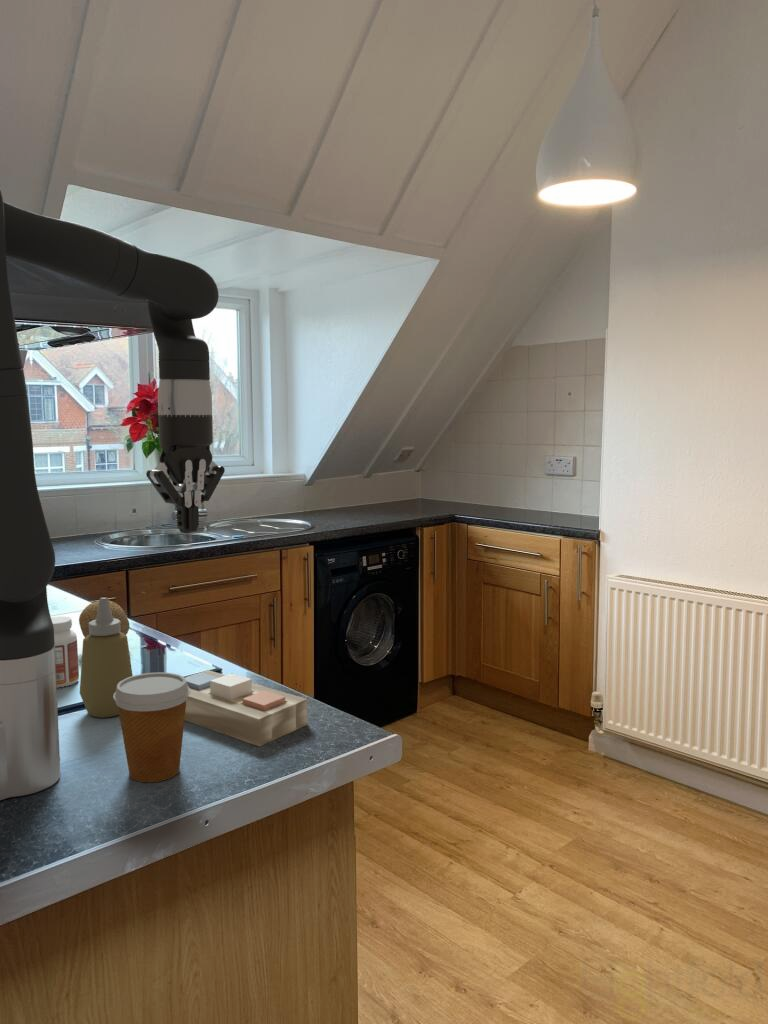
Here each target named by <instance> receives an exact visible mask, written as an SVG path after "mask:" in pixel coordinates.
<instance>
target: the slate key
mask: <svg viewBox="0 0 768 1024" xmlns="http://www.w3.org/2000/svg"><path fill="white" fill-rule="evenodd" d="M200 672H201V673H200ZM200 672H198V674H197V673H194V674H195V675H194V674H192V676H191V675H188V676H189V677H188V676H185V677H186V678H185V677H184V678H185V679H186V682H187V686H189V688H192V689H195V690H198V691H199V690H202V689H205V688H208V687H210V681H211V680H214V679H217V678H219V677H216V676H213V675H210V674H206V673H203V671H200Z"/></svg>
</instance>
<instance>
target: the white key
mask: <svg viewBox="0 0 768 1024" xmlns="http://www.w3.org/2000/svg"><path fill="white" fill-rule="evenodd" d="M224 675H225V676H222V677H219V678H217V679H214V680H211V681H210V694H211V695H214V696H217V697H220V698H223V699H226V700H229V701H231V700H234V699H236V698H239V697H242V696H244V695H247V694H250V693H252V683H253V679H252V678H251V677H250V678H249V677H245V676H244V675H240V674H235V673H229V674H224Z"/></svg>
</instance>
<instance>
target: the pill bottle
mask: <svg viewBox="0 0 768 1024" xmlns="http://www.w3.org/2000/svg"><path fill="white" fill-rule="evenodd" d="M51 620H52V623H53V627H54V642H55V663H56V686H57V689H60V688H59V687H62V688H65V687H64V686H66V687H69V685H70V686H72V685H75V684H76V683H77V682H78V681H80V680H79V679H80V669H79V653H78V651H79V650H78V635H77V633H76V632H75V631H74V630H72V629H71V628H72V626H73V621H72V618H71V617H70V616H53V617H51Z"/></svg>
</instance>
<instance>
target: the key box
mask: <svg viewBox="0 0 768 1024" xmlns="http://www.w3.org/2000/svg"><path fill="white" fill-rule="evenodd" d="M201 672H203V673H206V674H210V675H213V676H216V677H222V676H225V675H226V674H222V673H220V672H216V671H212V670H209V669H207V670H204V671H200V672H198V673H201ZM198 673H194V674H192V675H195V674H198ZM192 675H188V676H184V678H186V677H189V676H192ZM261 691H267V692H271V693H274V694H277V695H281V696H284V697H285V703H284V704H281V705H279V706H276V707H274V708H271V709H269V710H266V711H261V710H258V709H255V708H252V707H248V706H245V705H243V698H246V697H248V696H251V695H254V694H256V693H259V692H261ZM184 721H186V722H189V723H192V724H195V725H196V726H197V725H198V726H200V727H203V728H206V729H208V730H212V731H214V732H217V733H220V734H223V735H225V736H228V737H232V738H235V739H237V740H241V742H242V741H243V742H245V743H248V744H251V745H254V746H257V747H261V746H264V745H266V744H268V743H271V742H273V741H275V740H277V739H279V738H282V737H283V736H285V735H288V734H290V733H292V732H294V731H297V730H299V729H302V728H303V727H306V726H308V698H304V697H302V696H298V695H294V694H291V693H288V692H284V691H282V690H277V689H274V688H270V687H267V686H263V685H260V684H256V683H253V682H252V693H250V694H247V695H244V696H242V697H239V698H236V699H234V700H231V701H229V700H226V699H223V698H220V697H217V696H214V695H211V694H210V687H208V688H205V689H202V690H199V691H198V690H195V689H192V688H190V693H189V695H188V698H187V700H186V710H185V718H184Z"/></svg>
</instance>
